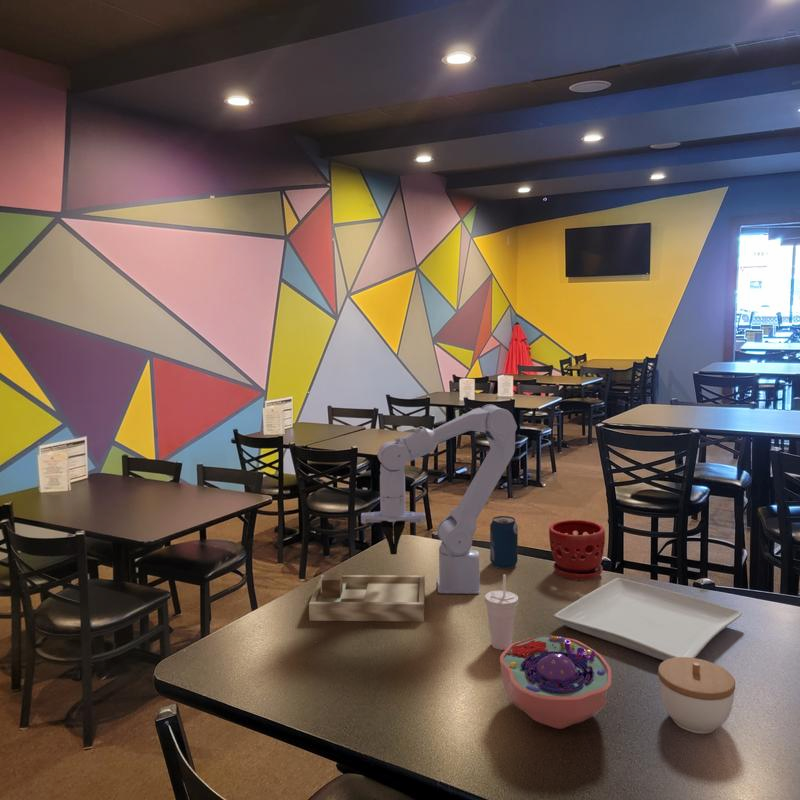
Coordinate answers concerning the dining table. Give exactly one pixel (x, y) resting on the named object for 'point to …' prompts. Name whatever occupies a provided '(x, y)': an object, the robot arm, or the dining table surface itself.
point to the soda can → (503, 542)
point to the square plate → (648, 618)
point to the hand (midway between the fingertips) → (393, 552)
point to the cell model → (555, 679)
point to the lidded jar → (696, 693)
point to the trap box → (372, 599)
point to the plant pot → (577, 548)
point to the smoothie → (501, 616)
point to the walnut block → (332, 585)
